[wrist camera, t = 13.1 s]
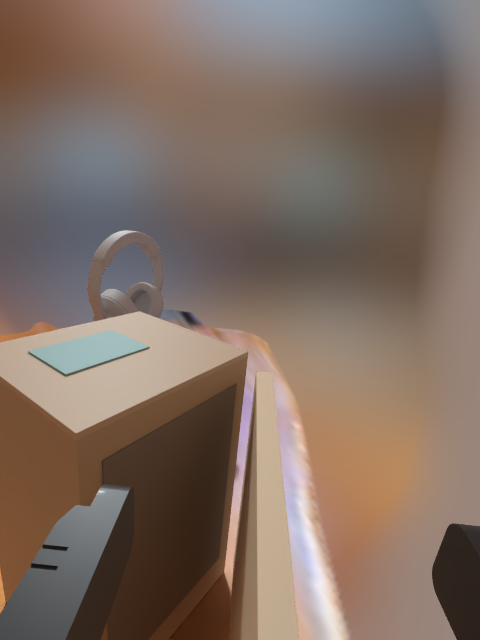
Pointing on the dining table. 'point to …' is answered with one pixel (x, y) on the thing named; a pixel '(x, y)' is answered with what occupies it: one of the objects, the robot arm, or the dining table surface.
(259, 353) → the dining table surface
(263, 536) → the flap
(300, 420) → the dining table surface
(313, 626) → the dining table surface
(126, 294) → the headphones
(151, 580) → the carton
